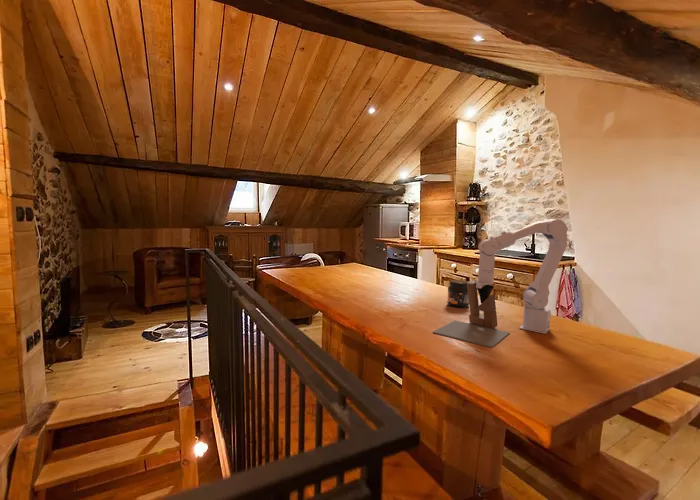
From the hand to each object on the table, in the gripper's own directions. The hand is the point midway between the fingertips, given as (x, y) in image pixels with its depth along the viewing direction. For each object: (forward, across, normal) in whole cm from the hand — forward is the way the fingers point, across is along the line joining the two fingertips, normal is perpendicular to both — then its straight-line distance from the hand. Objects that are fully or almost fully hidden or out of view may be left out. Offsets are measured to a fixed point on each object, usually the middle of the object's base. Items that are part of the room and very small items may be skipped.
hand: (483, 303), depth 148 cm
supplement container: (+10, -25, -21) cm, 34 cm away
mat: (+9, +12, 0) cm, 15 cm away
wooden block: (+9, -2, 0) cm, 9 cm away
